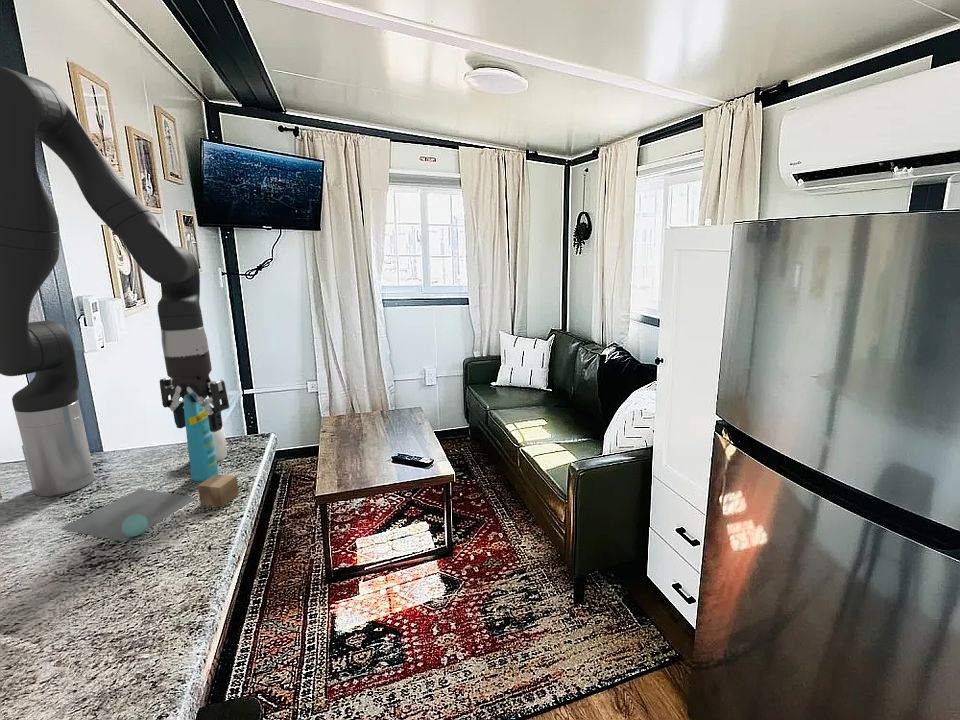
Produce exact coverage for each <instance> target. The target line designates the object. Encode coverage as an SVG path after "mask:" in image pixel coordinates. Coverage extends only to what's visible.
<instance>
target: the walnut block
mask: <svg viewBox="0 0 960 720" xmlns="http://www.w3.org/2000/svg"><path fill="white" fill-rule="evenodd" d="M197 489H198V496H199V502H200V505H201V506H202V505H204V506H213V507H222V508H223V507H224V506H225V505H227V504H228V503H229V502H231V501H232V500H233V499H234V498H236V497H237V496H238V495H239V494H240V493H239V485H238V479H237V476H236V475H227V474H219V475H218V474H215V475H213V476H212V477H210V478H209V479H207V480H204V481H202V482H201V483H200V484H198V485H197Z"/></svg>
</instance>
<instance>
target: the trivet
mask: <svg viewBox="0 0 960 720" xmlns="http://www.w3.org/2000/svg"><path fill="white" fill-rule="evenodd" d="M197 499H198V497H192V496H188V495H187V496H186V495H180V494H175V493H171V492H170V493H169V492H164V491H156V490H152V489H151V490H150V489H144V488H139V489H137V490H135V491H133V492H131V493H128V494H126V495H125V496H123V497H121V498H119V499H117V500H115V501H113V502H110V503H109V504H107V505H105V506H103V507H101V508H99V509H97V510H95V511H94V512H92V513H89V514H88V515H86V516H83V517H82V518H79V519H78V520H75V521H73V522H72V523H70V524H68V525H66V526H64V527H61V530H65V531H68V532H74V533H79V534H82V535H83V534H84V535H89V536H94V537H98V538H103V539H108V540H113V541H119V542H123V543H127V542H128V541H130V540H131V539H133V538H134V537H131V536H127V535H125V534H124V533H123V531H122V524H123V522H124V520H125V519H126V518H127V517H129V516H131V515H134V514H141V515H144V516H145V517H146V518H147V520H148V527H147V529H146V530H148V529H149V528H151V527H152V526H154V525H157V524H158V523H159V522H161V521H162V520H164V519H166V518H168V517H169V516H171V515H173V514H174V513H176V512H177V511H179V510H181V509H183V508H184V507H186V506H188V505H189V504H190V503H192V502H194V501H196V500H197Z"/></svg>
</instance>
